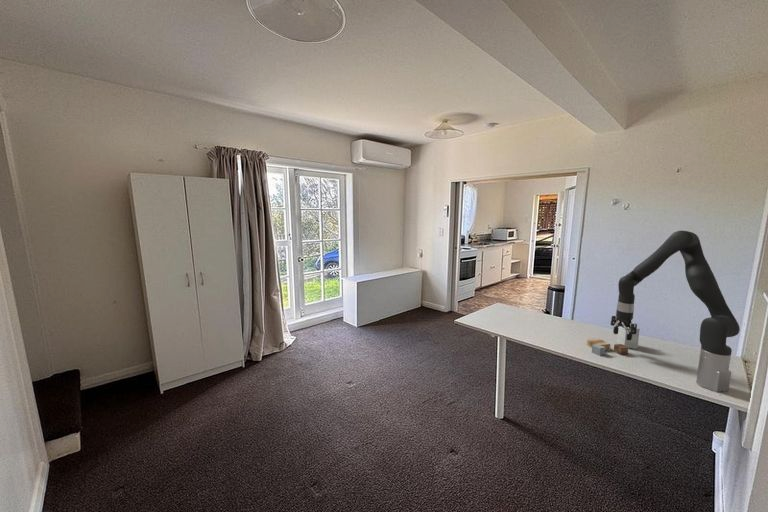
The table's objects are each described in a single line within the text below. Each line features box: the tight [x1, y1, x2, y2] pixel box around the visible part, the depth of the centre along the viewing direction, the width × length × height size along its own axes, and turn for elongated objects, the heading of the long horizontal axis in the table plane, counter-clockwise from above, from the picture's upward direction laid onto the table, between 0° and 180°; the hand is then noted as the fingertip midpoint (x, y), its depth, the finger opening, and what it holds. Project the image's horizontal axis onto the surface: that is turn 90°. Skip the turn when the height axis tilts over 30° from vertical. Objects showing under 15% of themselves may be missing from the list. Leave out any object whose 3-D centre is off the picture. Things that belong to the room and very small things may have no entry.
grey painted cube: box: [591, 344, 606, 357], centre depth 170 cm, size 4×4×4 cm
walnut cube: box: [613, 343, 629, 356], centre depth 170 cm, size 4×4×4 cm
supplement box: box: [616, 326, 640, 350], centre depth 179 cm, size 7×7×13 cm
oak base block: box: [586, 338, 611, 351], centre depth 178 cm, size 8×8×4 cm
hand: (621, 336), depth 170 cm, fingers open, 8 cm apart
